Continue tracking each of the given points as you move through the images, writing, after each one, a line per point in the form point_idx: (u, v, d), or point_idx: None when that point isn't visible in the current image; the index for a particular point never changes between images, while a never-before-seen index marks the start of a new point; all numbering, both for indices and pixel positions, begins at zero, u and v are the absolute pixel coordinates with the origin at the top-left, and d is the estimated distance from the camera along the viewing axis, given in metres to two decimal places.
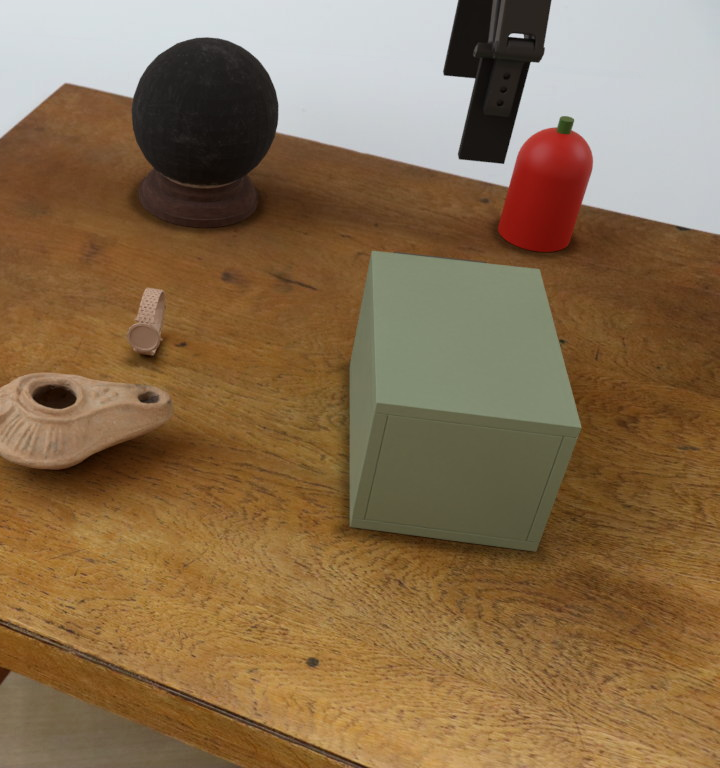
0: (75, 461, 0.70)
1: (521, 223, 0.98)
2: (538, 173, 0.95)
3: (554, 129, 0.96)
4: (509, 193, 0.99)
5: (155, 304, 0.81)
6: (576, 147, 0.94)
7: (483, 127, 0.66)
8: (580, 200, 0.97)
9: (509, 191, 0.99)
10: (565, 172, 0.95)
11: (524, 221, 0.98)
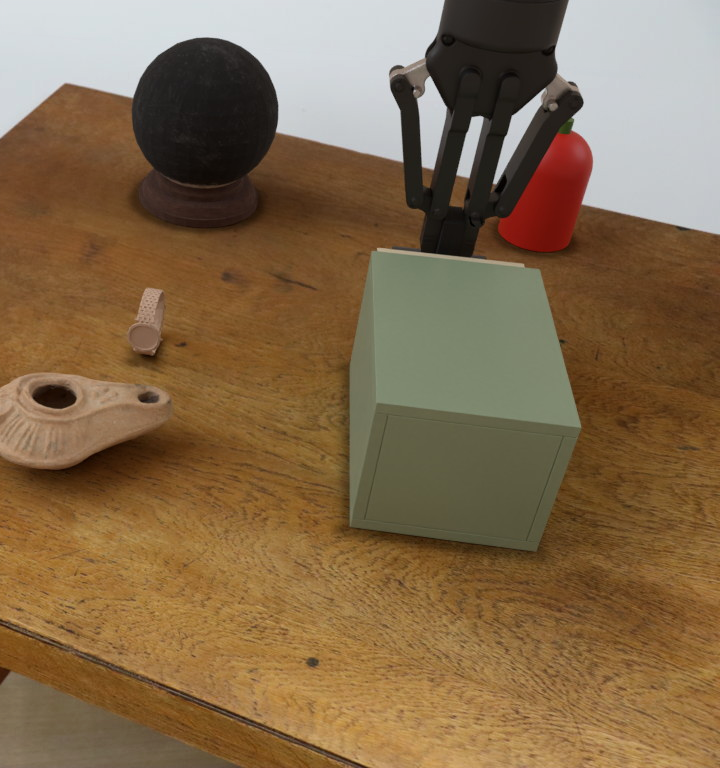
0: (75, 461, 0.70)
1: (521, 223, 0.98)
2: (538, 173, 0.95)
3: None
4: None
5: (155, 304, 0.81)
6: (576, 147, 0.94)
7: None
8: (580, 200, 0.97)
9: None
10: (565, 172, 0.95)
11: (524, 221, 0.98)
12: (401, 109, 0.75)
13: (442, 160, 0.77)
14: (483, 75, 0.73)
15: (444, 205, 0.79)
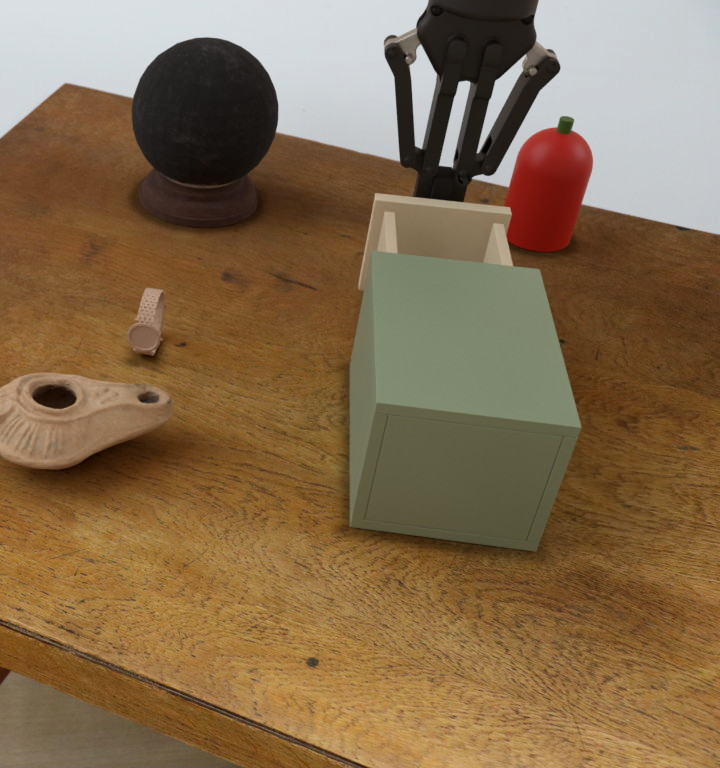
0: (75, 461, 0.70)
1: (521, 223, 0.98)
2: (538, 173, 0.95)
3: (554, 129, 0.96)
4: (509, 193, 0.99)
5: (155, 304, 0.81)
6: (576, 147, 0.94)
7: None
8: (580, 200, 0.97)
9: (509, 191, 0.99)
10: (565, 172, 0.95)
11: (524, 221, 0.98)
12: (395, 75, 0.82)
13: (432, 122, 0.84)
14: (468, 43, 0.80)
15: (435, 164, 0.86)
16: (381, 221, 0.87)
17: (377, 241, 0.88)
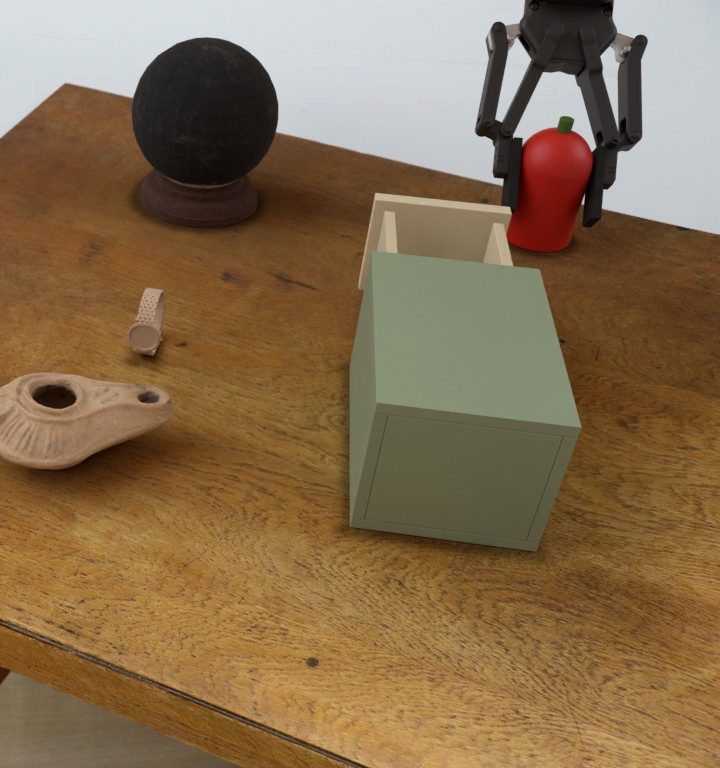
0: (75, 461, 0.70)
1: (521, 223, 0.98)
2: (538, 173, 0.95)
3: (554, 129, 0.96)
4: None
5: (155, 304, 0.81)
6: (576, 147, 0.94)
7: None
8: (580, 200, 0.97)
9: None
10: (565, 172, 0.95)
11: (524, 221, 0.98)
12: (496, 44, 0.98)
13: (520, 88, 0.97)
14: (563, 30, 0.98)
15: (513, 125, 0.97)
16: (381, 221, 0.87)
17: (377, 241, 0.88)
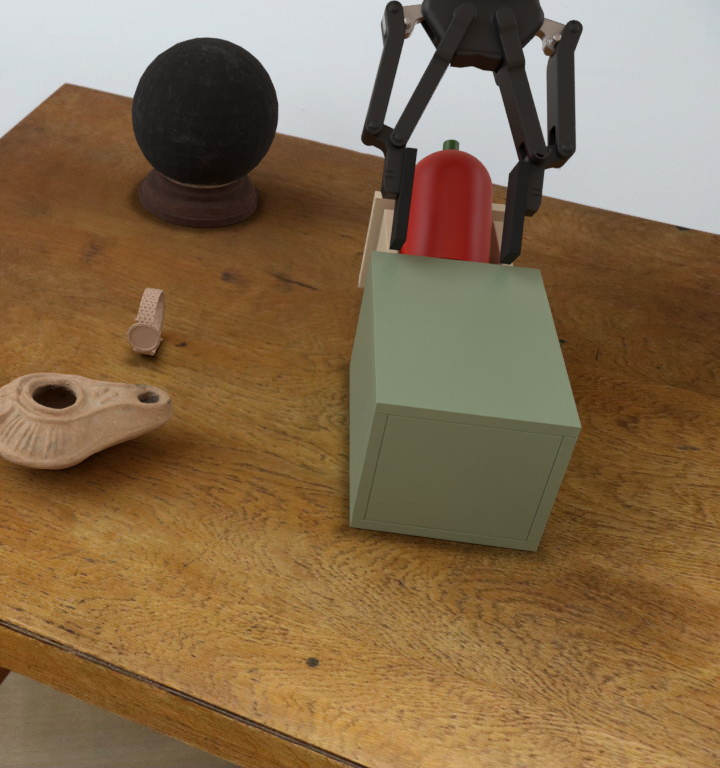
0: (75, 461, 0.70)
1: (424, 230, 0.79)
2: (432, 169, 0.80)
3: None
4: None
5: (155, 304, 0.81)
6: (468, 153, 0.82)
7: None
8: (488, 213, 0.80)
9: None
10: (462, 163, 0.80)
11: (427, 227, 0.79)
12: (389, 29, 0.77)
13: (418, 85, 0.76)
14: (476, 14, 0.77)
15: (406, 132, 0.76)
16: (381, 219, 0.87)
17: (377, 239, 0.88)
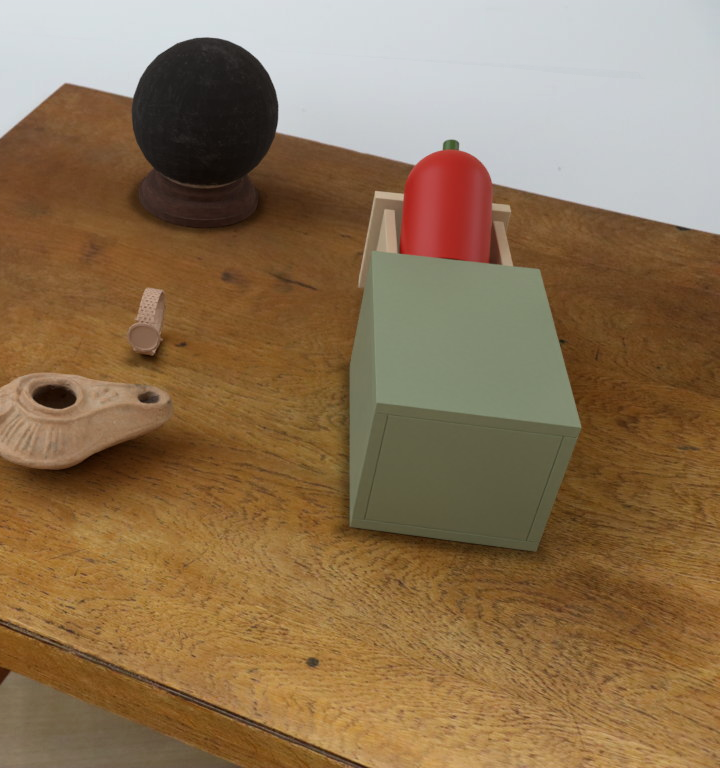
0: (75, 461, 0.70)
1: (424, 230, 0.79)
2: (432, 169, 0.80)
3: None
4: (403, 221, 0.82)
5: (155, 304, 0.81)
6: (468, 153, 0.82)
7: None
8: (488, 213, 0.80)
9: (403, 220, 0.82)
10: (462, 163, 0.80)
11: (427, 227, 0.79)
12: None
13: None
14: None
15: None
16: (381, 219, 0.87)
17: (377, 239, 0.88)
